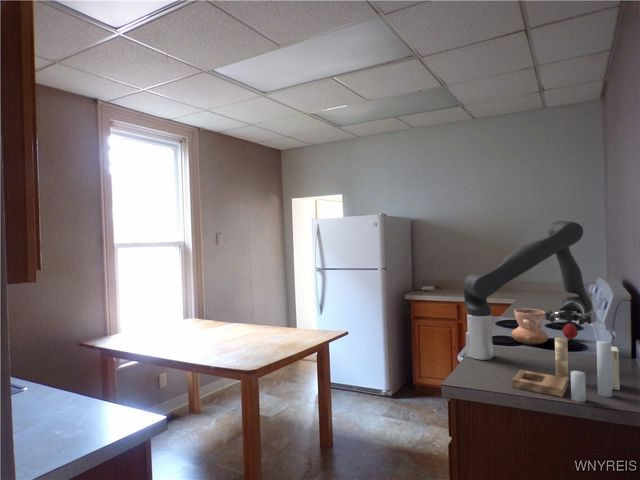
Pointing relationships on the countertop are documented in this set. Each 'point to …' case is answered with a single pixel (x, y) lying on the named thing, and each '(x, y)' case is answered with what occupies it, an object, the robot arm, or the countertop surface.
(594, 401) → the countertop surface
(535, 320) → the ceramic jug
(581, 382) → the short grey dowel
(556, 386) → the wooden board with hole
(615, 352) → the skincare box
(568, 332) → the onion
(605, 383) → the tall grey dowel
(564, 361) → the beech dowel
